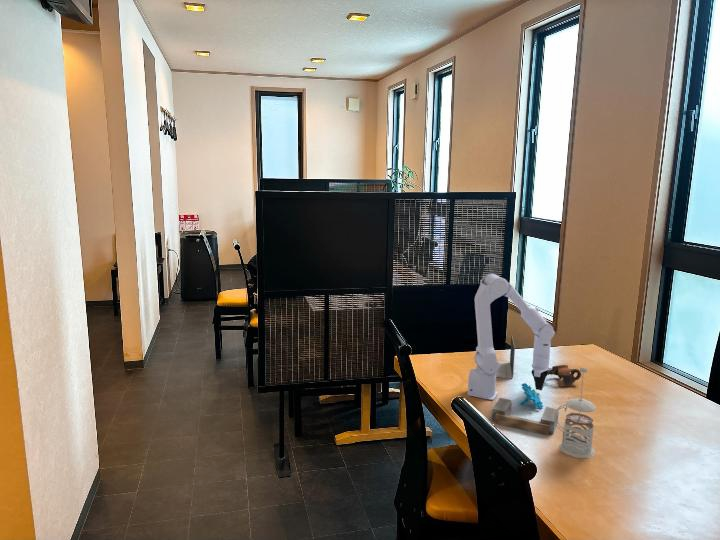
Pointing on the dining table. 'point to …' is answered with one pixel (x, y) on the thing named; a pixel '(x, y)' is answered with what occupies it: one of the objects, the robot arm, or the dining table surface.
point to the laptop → (507, 364)
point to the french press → (576, 443)
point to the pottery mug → (565, 375)
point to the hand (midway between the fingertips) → (539, 389)
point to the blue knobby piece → (531, 396)
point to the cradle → (503, 418)
